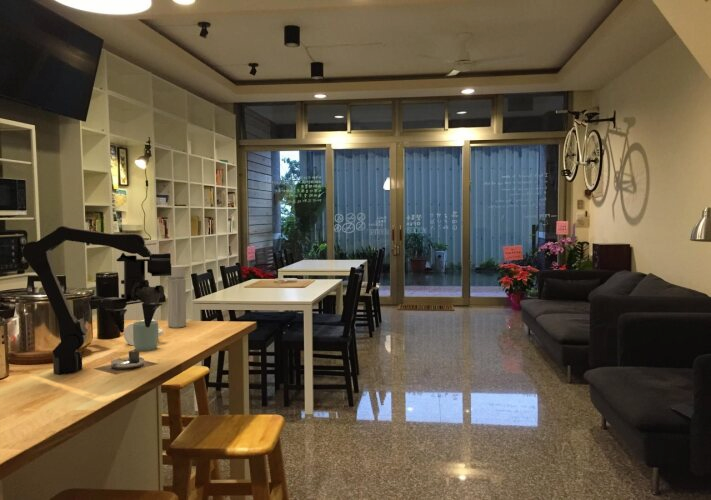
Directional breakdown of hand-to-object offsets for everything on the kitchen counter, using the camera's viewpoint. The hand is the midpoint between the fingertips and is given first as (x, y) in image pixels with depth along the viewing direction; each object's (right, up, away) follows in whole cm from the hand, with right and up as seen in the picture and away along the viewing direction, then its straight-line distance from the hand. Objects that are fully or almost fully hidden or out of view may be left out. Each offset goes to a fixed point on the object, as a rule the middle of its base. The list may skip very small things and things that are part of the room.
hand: (135, 329), depth 164 cm
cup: (-5, -11, +23) cm, 26 cm away
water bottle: (-9, -9, +66) cm, 68 cm away
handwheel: (-2, -11, +1) cm, 11 cm away
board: (-3, -12, +1) cm, 12 cm away
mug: (-10, -10, +37) cm, 40 cm away
